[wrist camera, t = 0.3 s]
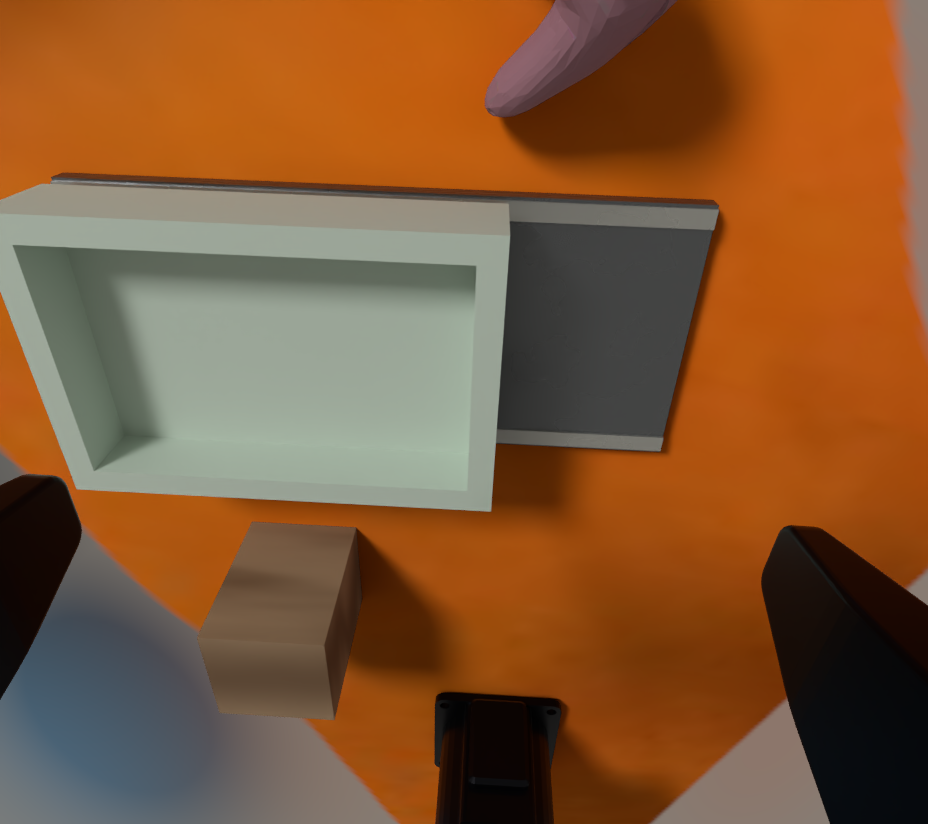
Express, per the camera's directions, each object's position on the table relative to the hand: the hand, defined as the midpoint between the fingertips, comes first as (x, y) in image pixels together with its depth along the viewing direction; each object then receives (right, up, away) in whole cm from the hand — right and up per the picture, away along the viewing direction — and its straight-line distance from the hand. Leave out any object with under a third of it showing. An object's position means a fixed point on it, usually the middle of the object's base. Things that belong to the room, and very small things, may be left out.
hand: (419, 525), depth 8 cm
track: (-2, +5, +14) cm, 15 cm away
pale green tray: (-5, +5, +14) cm, 16 cm away
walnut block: (-6, -5, +21) cm, 22 cm away
